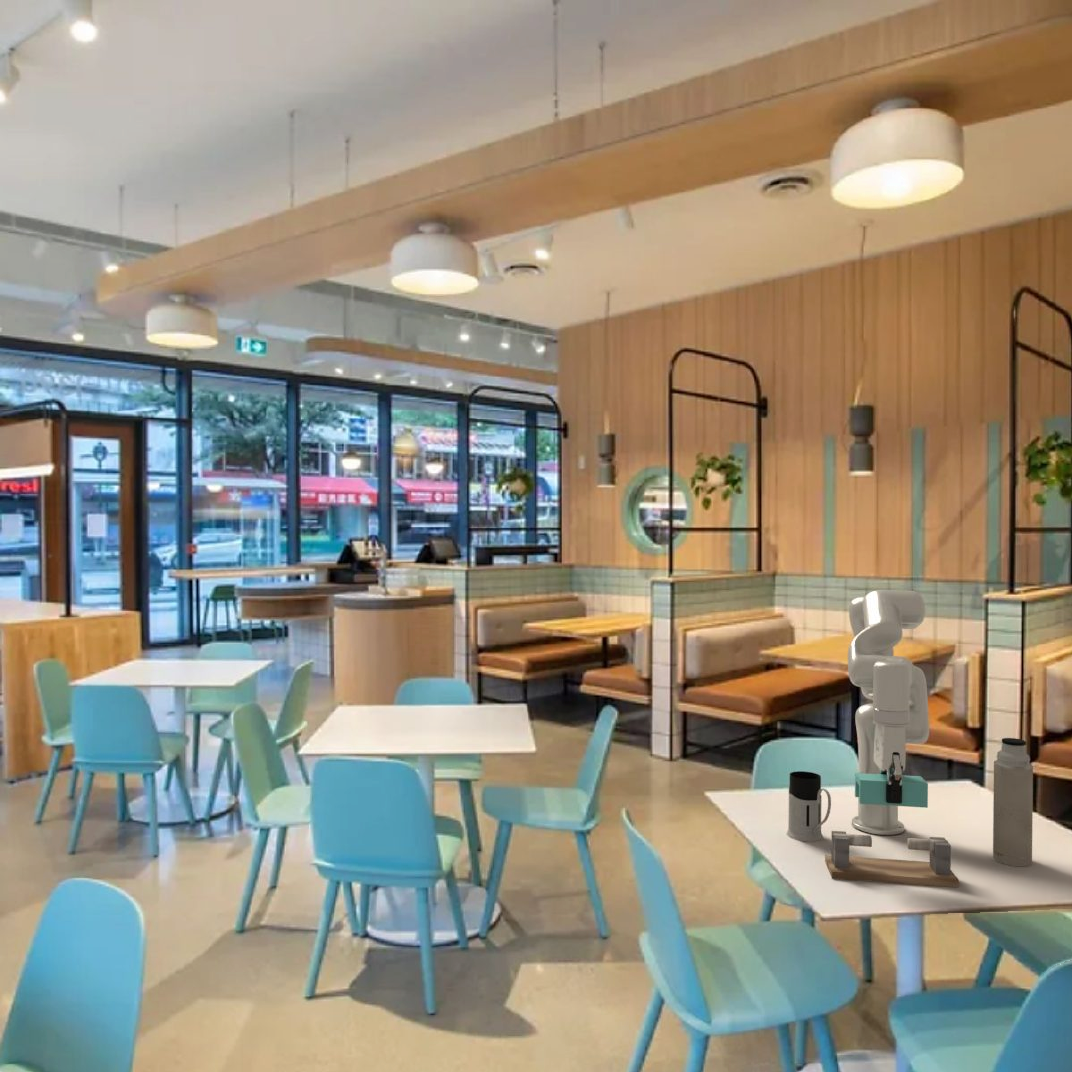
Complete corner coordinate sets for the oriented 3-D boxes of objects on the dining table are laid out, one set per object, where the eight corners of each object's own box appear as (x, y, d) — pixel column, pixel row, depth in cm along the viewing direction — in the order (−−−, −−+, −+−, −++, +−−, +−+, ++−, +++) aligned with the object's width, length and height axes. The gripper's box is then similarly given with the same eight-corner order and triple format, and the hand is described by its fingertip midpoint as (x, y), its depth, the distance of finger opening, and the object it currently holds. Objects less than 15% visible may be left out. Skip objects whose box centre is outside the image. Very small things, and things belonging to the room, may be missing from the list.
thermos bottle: (986, 853, 208) (987, 735, 208) (1019, 853, 209) (1020, 735, 209) (1005, 866, 200) (1006, 743, 200) (1039, 866, 201) (1040, 743, 201)
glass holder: (808, 827, 226) (809, 769, 226) (844, 846, 213) (845, 784, 212) (779, 831, 223) (779, 772, 223) (814, 850, 210) (814, 787, 210)
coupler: (854, 795, 200) (855, 772, 200) (920, 799, 197) (920, 776, 197) (859, 803, 194) (860, 780, 194) (927, 807, 191) (927, 783, 191)
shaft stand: (824, 861, 203) (825, 825, 203) (945, 869, 199) (945, 833, 199) (831, 878, 193) (832, 840, 193) (958, 887, 189) (959, 848, 189)
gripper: (865, 708, 205) (864, 786, 205) (881, 724, 188) (880, 809, 188) (899, 710, 203) (898, 788, 203) (919, 725, 186) (918, 811, 186)
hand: (890, 797), depth 196 cm, fingers closed on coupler, 6 cm apart
